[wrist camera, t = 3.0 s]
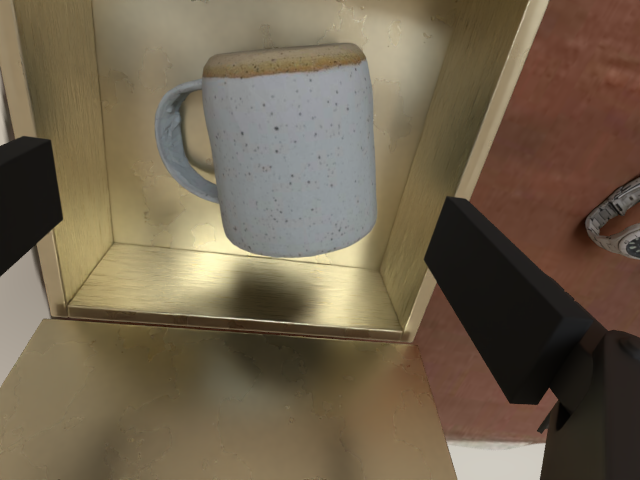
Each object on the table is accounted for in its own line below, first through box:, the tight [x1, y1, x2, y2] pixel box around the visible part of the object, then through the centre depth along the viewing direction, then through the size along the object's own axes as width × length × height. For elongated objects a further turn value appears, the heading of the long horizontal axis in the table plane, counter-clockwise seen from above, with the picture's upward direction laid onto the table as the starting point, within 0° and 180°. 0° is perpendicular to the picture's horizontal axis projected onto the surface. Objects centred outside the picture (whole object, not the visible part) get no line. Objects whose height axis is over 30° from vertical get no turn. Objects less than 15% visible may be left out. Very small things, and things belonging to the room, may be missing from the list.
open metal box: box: [0, 0, 550, 342], centre depth 19 cm, size 18×19×7 cm
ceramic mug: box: [155, 43, 377, 258], centre depth 18 cm, size 11×8×8 cm
